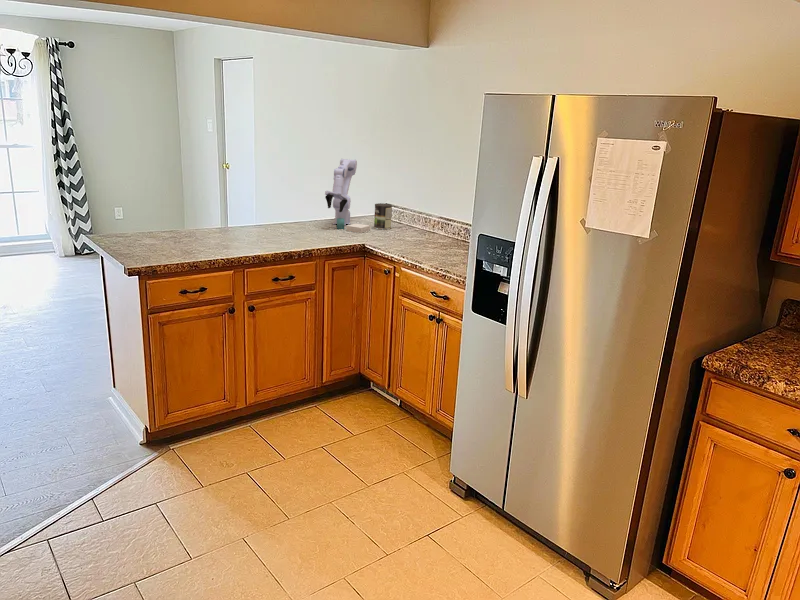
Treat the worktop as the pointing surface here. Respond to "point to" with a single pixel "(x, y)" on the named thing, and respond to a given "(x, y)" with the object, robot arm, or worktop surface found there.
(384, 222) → the coffee can
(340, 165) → the robot arm
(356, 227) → the plinth
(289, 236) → the worktop surface
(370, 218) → the worktop surface
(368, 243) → the worktop surface
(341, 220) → the teal cylinder
